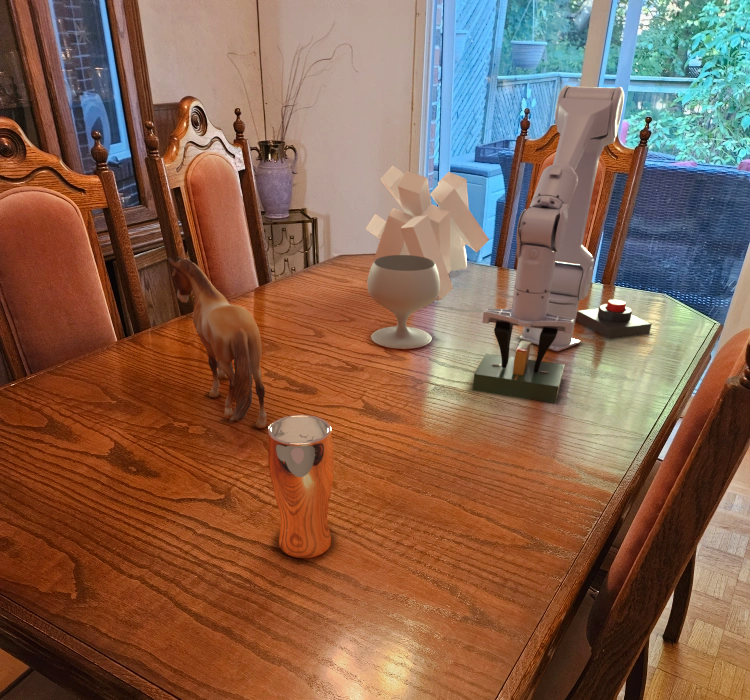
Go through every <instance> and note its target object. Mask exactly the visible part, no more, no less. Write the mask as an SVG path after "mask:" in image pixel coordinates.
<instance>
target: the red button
mask: <svg viewBox="0 0 750 700" xmlns="http://www.w3.org/2000/svg"><path fill="white" fill-rule="evenodd" d="M606 304H607V310H609V311H613V312H624V310H625V306H626V305H627V302H626V301H624V300H621V299H609V300H608V301H607V303H606ZM626 307H627V306H626Z"/></svg>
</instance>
